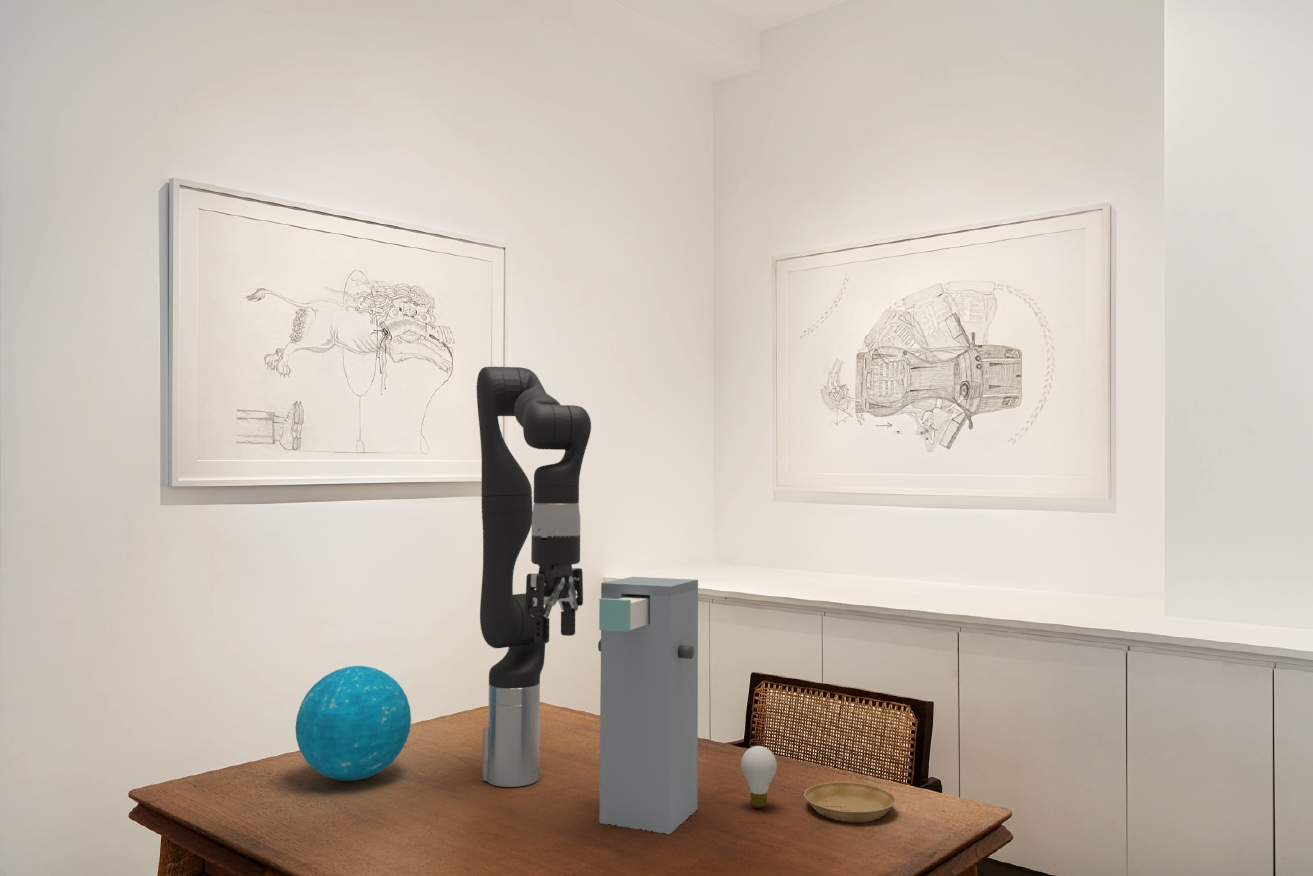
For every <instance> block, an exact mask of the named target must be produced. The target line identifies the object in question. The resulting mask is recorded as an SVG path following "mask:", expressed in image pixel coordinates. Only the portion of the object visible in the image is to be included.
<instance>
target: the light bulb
mask: <svg viewBox="0 0 1313 876" xmlns="http://www.w3.org/2000/svg"><path fill="white" fill-rule="evenodd" d="M740 766H741V772H742V774H743V775H744V777H745V779H746V781H747V784H748V787H749V791H750V803H751V804H752V805H753V806H754V807H755V808H756V809H762V808H763V807H764V806H766V805H767V804H768V803H767V802H768V792H769V791H768V790H769V787H770V784H771V781H772V779H773V778H774V777H775V774H776V773H777V766H778V765H777V759H776V756H775V754H774V753H773V751H772V750H770V749H769V748H767V747H765V746H762V745H755V746H754V745H753V746H752V747H750V748H748V749H747V750H746V751H745V752H744V753H743V755H742V757H741V761H740Z"/></svg>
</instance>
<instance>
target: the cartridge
mask: <svg viewBox="0 0 1313 876" xmlns="http://www.w3.org/2000/svg"><path fill="white" fill-rule="evenodd" d="M598 602H599V610H598V611H599V615H598V617H599V619H598V625H599V626H598V628H599V629H598V630H599V631H601V630H607V631H621V632H628V631H630V630H632V629H635V628H638V627H641V626H644V625H647V624H650V595H638V594H636V595H632V596H628V597H624V598H620V599H609V598H602V599H601V598H599V601H598Z"/></svg>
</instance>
